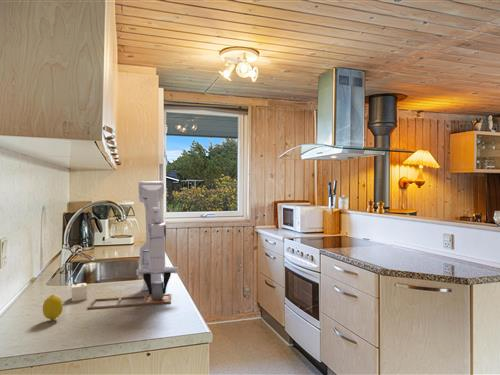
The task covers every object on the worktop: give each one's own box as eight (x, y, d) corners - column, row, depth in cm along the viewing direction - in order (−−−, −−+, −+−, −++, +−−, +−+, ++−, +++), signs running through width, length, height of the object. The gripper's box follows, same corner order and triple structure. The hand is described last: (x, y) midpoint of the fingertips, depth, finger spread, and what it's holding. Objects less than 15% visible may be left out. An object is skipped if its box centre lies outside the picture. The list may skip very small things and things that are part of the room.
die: (71, 297, 140) (71, 284, 140) (86, 295, 142) (86, 282, 142) (71, 301, 135) (71, 287, 135) (86, 299, 137) (86, 285, 137)
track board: (94, 300, 136) (94, 298, 136) (171, 295, 141) (171, 293, 141) (87, 309, 126) (87, 307, 126) (170, 303, 131) (170, 301, 131)
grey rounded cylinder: (151, 296, 137) (151, 281, 137) (163, 295, 138) (163, 280, 138) (150, 299, 133) (150, 284, 133) (163, 299, 133) (163, 283, 133)
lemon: (40, 324, 112) (40, 298, 112) (45, 318, 118) (45, 293, 118) (60, 322, 114) (60, 296, 114) (64, 316, 119) (64, 291, 119)
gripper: (135, 259, 130) (135, 298, 130) (177, 257, 133) (177, 295, 133) (137, 255, 137) (137, 292, 137) (177, 254, 140) (177, 290, 140)
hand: (157, 293), depth 135 cm, fingers closed on grey rounded cylinder, 4 cm apart
